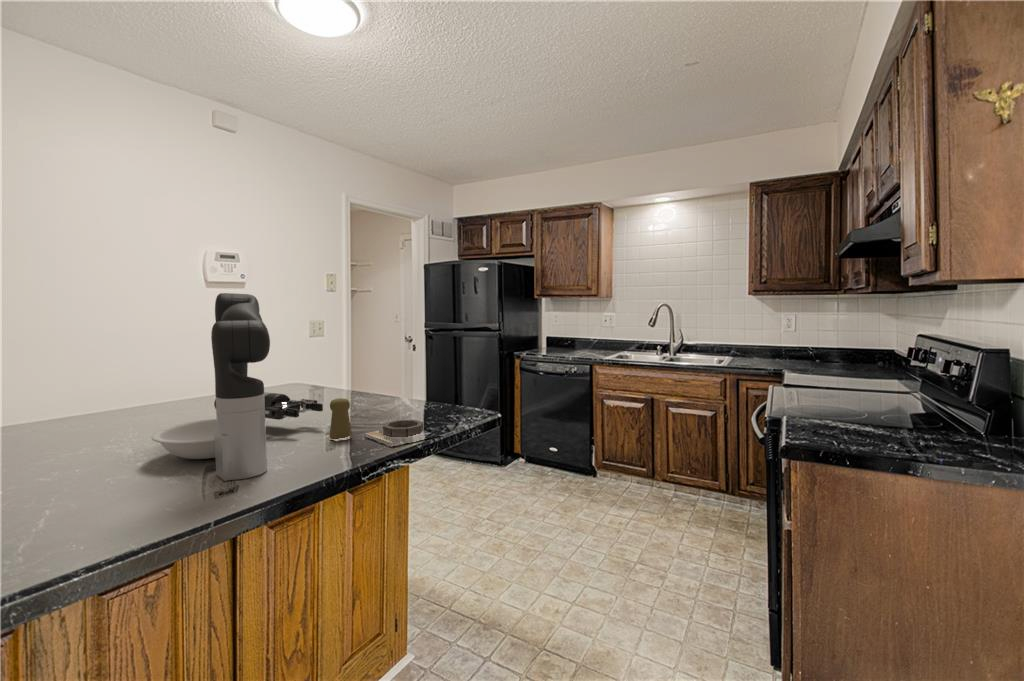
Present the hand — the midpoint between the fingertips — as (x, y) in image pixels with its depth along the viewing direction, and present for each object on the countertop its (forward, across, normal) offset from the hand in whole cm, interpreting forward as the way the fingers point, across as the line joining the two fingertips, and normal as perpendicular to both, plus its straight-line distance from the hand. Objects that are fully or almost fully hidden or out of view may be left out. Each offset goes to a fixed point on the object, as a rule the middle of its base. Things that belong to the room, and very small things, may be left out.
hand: (310, 410), depth 140 cm
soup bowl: (-6, -25, +7) cm, 26 cm away
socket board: (+26, +8, +7) cm, 28 cm away
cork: (+11, 0, +7) cm, 13 cm away
